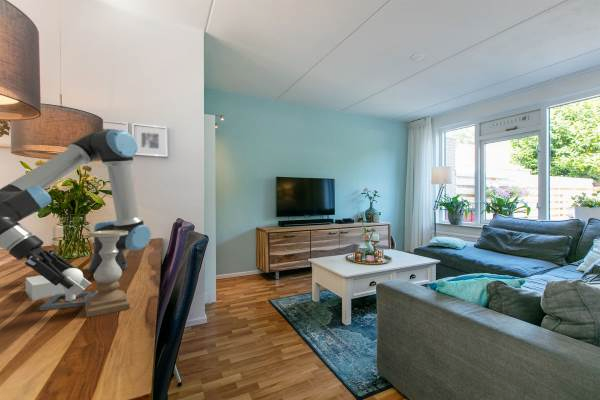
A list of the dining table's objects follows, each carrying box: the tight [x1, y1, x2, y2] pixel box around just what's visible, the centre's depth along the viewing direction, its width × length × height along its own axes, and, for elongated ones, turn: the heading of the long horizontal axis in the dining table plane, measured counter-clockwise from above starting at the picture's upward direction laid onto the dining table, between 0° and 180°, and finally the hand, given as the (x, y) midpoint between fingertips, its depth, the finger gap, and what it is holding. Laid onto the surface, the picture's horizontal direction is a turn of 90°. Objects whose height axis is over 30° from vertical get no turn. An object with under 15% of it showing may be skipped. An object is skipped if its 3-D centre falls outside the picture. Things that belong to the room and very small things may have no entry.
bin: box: [25, 275, 65, 302], centre depth 99 cm, size 14×14×5 cm
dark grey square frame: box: [39, 290, 98, 311], centre depth 89 cm, size 12×12×1 cm
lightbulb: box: [62, 267, 84, 302], centre depth 89 cm, size 6×6×11 cm
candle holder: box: [84, 230, 131, 318], centre depth 85 cm, size 11×11×24 cm
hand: (84, 289), depth 91 cm, fingers closed on lightbulb, 6 cm apart
